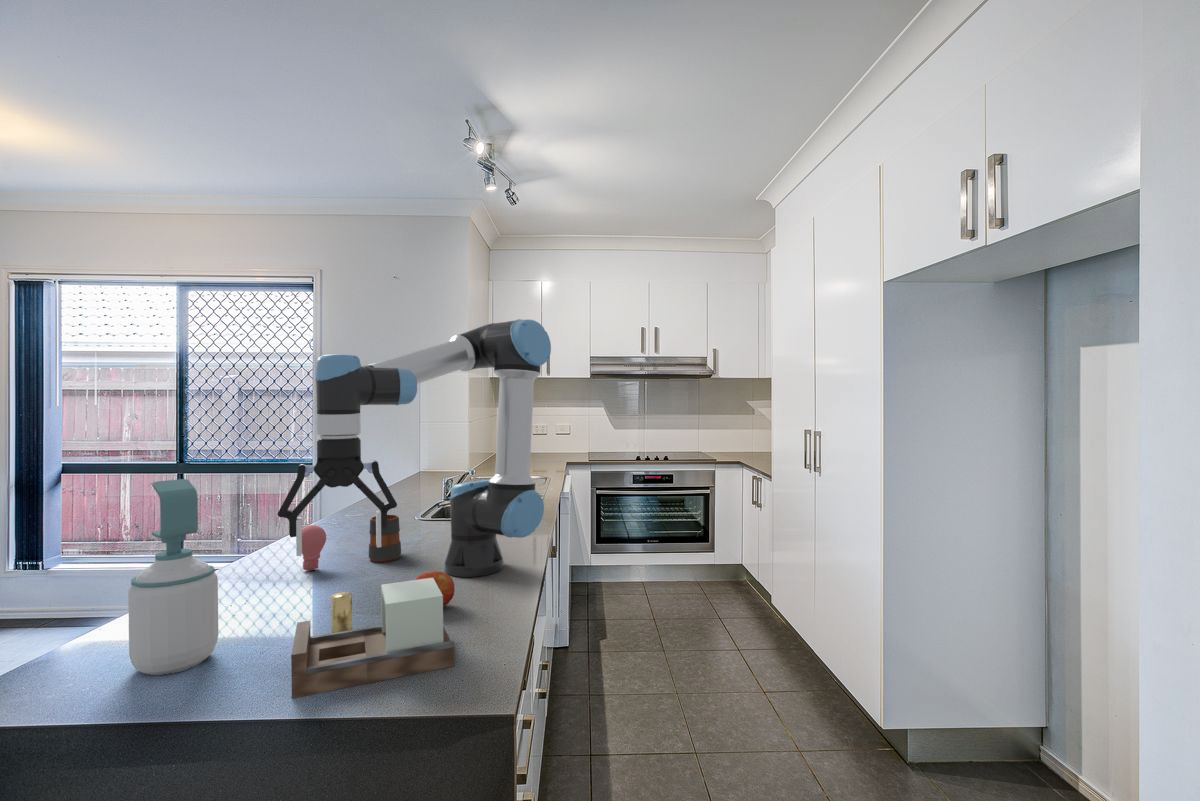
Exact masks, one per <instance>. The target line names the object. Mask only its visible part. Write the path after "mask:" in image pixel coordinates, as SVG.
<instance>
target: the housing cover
mask: <svg viewBox="0 0 1200 801" xmlns="http://www.w3.org/2000/svg"><path fill="white" fill-rule="evenodd" d="M380 592H381V593H380V596H381V598H380V599H381V625H382V633H385V632H386V653H388V652H393V651H399V650H404V649H410V648H415V647H421V646H426V645H432V644H437V643H443V625H444V607H443V595H442V593H441V591H440V590H439V588H438V586H437V584H436V582H435V580H434V579H433V578H426V579H419V580H416V579H413V580H412V579H411V580H405V581H398V582H392V583H384V584H381V589H380Z"/></svg>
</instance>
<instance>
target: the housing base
mask: <svg viewBox="0 0 1200 801" xmlns="http://www.w3.org/2000/svg"><path fill="white" fill-rule="evenodd" d="M294 634H295V635H294V637H293V643H292V648H291V656H290V659H291V661H290V662H291V665H290V666H291V675H290V676H291V699H296V698H301V697H306V696H310V695H315V694H321V693H325V692H330V691H334V690H341V689H345V688H350V687H355V686H360V685H365V684H370V683H371V684H372V683H376V682H381V681H385V680H390V679H395V678H401V677H404V676H405V677H407V676H410V675H411V676H412V675H415V674H420V673H425V672H431V671H434V670H440V669H445V668H451V667H455V643H454V640H451V639H450V636H449V634H448V631H447V630H446V628H445V625H444V624H443V643H437V644H432V645H426V646H421V647H415V648H410V649H404V650H399V651H393V652H388V653H386V632H385V633H382V624H381V625H380V624H379V625H374V626H368V627H362V628H356V629H352V630H349V631H342V632H336V633H331V632H330V633H326V634H325V633H324V634H319V635H313V636H312V635H311V620H305V621H299V622H297V624H296V627H295V632H294Z"/></svg>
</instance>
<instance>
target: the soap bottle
mask: <svg viewBox="0 0 1200 801" xmlns="http://www.w3.org/2000/svg"><path fill="white" fill-rule="evenodd" d="M152 488H153V489H154V490H155V492H156V494H157V495H158V498H159V505H160V506H159V509H160V511H159V512H160V515H159V516H160V521H159V522H160V528H159V529H160V530H159V529H158V530H154V531H152V532H151V536H154V537H155V538H157V539H160V542H161V543H163V544H166V545H165V546H166V550H163V551H160V552H157V553H156V554H154V555H155V556H154V558H155V559H154V562H153V563H151V565H149V566H148V567H146V568H144V569H143V570H142V571H141V572H139V573H138V574H137V576H134V577H133V578H132V579H130V582H131V583H130V585H129V586H128V592H127V594H128V600H127V602H128V604H127V605H128V656H129V659H130V663H131V664H132V666H133V668H134V670H135V671H139V672H141V673H143V674H146V675H148V674H151V675H150V676H162V675H161V674H166V675H170V674H169V673H172V674H176V673H180V672H183V670H184V671H186V670H189V669H191V667H192V668H194V667H197V666H198V665H200V664H201V663H203V662H204V661H205V660H206V659H207V658H208V657H210V656H211V654H212V653H213V652H214V650H215V648H216V645H217V644H218V640H219V582H218V580H219V579H218V575H217V573H216V570H215V567H214V566H213V565H209V564H208V562H205V561H203V560H202V559H198V558H196V557H194V556H193V549H192V548H182V542H183V541H186V540H187V535H189V534H196V533H197V532H198V529H199V520H198V519H199V512H198V511H199V507H198V506H199V504H198V492H197V489H196V487H195V486H194V485H193V484H192V483H191V481H190V480H189V479H187V478H185V479H184V478H180V479H168V480H157V481H154V482H152ZM179 671H180V672H179ZM175 672H176V673H175Z"/></svg>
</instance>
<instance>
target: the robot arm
mask: <svg viewBox="0 0 1200 801" xmlns="http://www.w3.org/2000/svg"><path fill="white" fill-rule="evenodd" d="M551 353H552V345H551V339H550V336H549V334H548V332H547V331H546V329H545V327H544V326H543V325H542V324H541V323H540V322H538V321H537V320H534V319H520V318H519V319H516V320H509V321H503V322H494V323H488V324H484V325H482V326H479V327H476V328H473V329H471V330H469V331H466V332H463V333H460V334H457V335H454V336H452V337H451V338H450V339H449V341H447V342H444V343H443V342H442V343H439V344H436V345H433V346H429V347H426V348H422V349H418V350H415V351H411V352H408V353H404V354H402V355H398V356H397V355H396V356H394V357H390V358H387V359H384V360H380V361H376V362H373V363H369V364H367V365H362V364H361V360H360V358H359V356H357V355H352V354H335V353H334V354H324V355H323V354H322V355H321V356H319V357H318V359H316V367H315V368H316V370H315V379H314V380H315V385H316V436H318V437H320V438H318V439H317V440H316V464H314V465H308V464H307V465H306V464H304V463H301V464H299V465H298V467H297V474H296V478H295V481H294V482H293V484H292V486H291V488H290V489H289V491H288V493H287V495H286V498H284V501H283V502H282V504H281V506H280V509H279V510H278V512H277V516H278V517H279V518H284V519H288V527H289V528H288V530H289V537H290V538H295V539H296V540H295V541H296V542H295V545H296V547H295V549H296V557H301V556H302V555H303V554H302V528H303V527H302V526H303V518H302V516H299V515H300V514H301V513H302V512H303V511H304V510H305V509H306V508H307V507H308V505H309V504H310V503H311V501H313V499H314V498H315V497H316V496H317V495H318V493H319V492H321V491H322V489H323V488H324V487H325V486H327V487H328V488H330V489H331V488H332V489H333V488H337V487H343V488H346V487H350V486H352V485H354V486H356V488H358V489H359V490H360V492H362V493H363V494H364V495H365V497H367V499H369V500H370V501H371V503H372V504H373V505H375V507H377V508H378V510H375V516H376V545H377V548H378V547H381V529H384V528H386V527H387V515H388V512H389V511H390V510H392V509H395V508H397V507H398V503H397V501H396V499H395V498H394V496H393V494H392V493H391V491H390V489H389V487H388V485H387V483H386V482H385V480H384V478H383V477H382V475H381V472H380V466H379V462H378V461H377V460H375V459H374V460H371V461H369V462H363V461H362V457H361V456H362V453H361V452H362V451H361V450H362V448H361V447H362V444H361V443H362V442H361V441H362V440H361V438H360V437H358V436H360V434H361V432H362V431H361V428H362V427H361V406H397V407H398V406H399V405H409V404H410V403H412V402H414V400H415V398H416V396H417V394H418V384H421V383H424V382H427V381H430V380H433V379H436V378H439V377H442V376H445V375H448V374H451V373H453V372H457V371H461V372H469V371H472V370H476V369H487V368H488V369H489V368H491V369H492V368H493V373H494V374H495V375H496V377H497V378H498V379H499V390H498V408H497V410H498V411H497V428H496V429H497V431H496V448H495V449H496V450H495V469H494V470H495V471H494V472H495V473H494V475H493V476H492V477H490V479H484V480H483V479H482V480H474V481H466V482H460V483H456V484H454V485H453V486H452V487H451V488H450V499H449V502H450V503H449V504H450V506H449V507H450V533H451V534H450V535H451V536H450V545H449V548H448V550H447V553H446V556H445V560H444V573H446V574H448V575H449V576H452V577H460V578H462V577H463V578H474V577H482V576H487V575H488V576H489V575H492V574H496V573H497V572H500V571H501V570H503V569H504V556H503V553H502V551H501V548H500V545H499V542H498V539H497V535H499V536H505V537H507V538H512V539H513V538H517V539H518V538H519V539H521V538H527V537H528V536H530V535H531V534H532V533H534V532H535V531H536V529H537V528H538V527H540V526H539V525H540V524H541V522H542V520H543V517H544V511H545V503H544V499H543V498H542V495H541V494H540V493H538V491H536V481H535V480H534V478H532V477H531V474H530V473H531V456H532V455H531V453H532V451H531V450H532V431H533V408H534V407H533V406H534V385H535V380H536V379H537V378H538V377H539V376H540V375H541V367H542V366H543V365H544V364H546V363H547V362H548V360H549V359H550V356H551ZM364 469H365V470H367V472H368V473H369V474H372V475H373V478H374V480H375V481H376V483H377V485H378V486H379V488H380V490H381V492H382V494H383V495H384V496H385V499H386V501H387V502H386V503H384V502H383V500H381V499H380V497H379V496H378V495H377V494H376V493H375V492H374V491H372V490H371V489H370V488H369V486H368V485H366V483H365V482H364V481H363V480H362V479H361V478H360V477H359V476H360V474H361V473H362V472H363V470H364ZM312 472H313V473H315V474H316V476H318V478H319V480H318V481H317V482H316V483H315V485H313V487H312V488H311V489H309V492H307V494H306V495H305V496H304V497H303V498H302V499H301V500H300V501H299V503H297V505H296V506H295V507H294V508H293V510H290V509H289V508H290V506H291V504H292V503H293V500H294V499H295V497H296V495H297V493H298V491H299V489H300V487H301V485H302V484H303V482H304V480H305V478H307V477H309V476H310V475H311V473H312ZM298 516H299V517H298Z"/></svg>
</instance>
